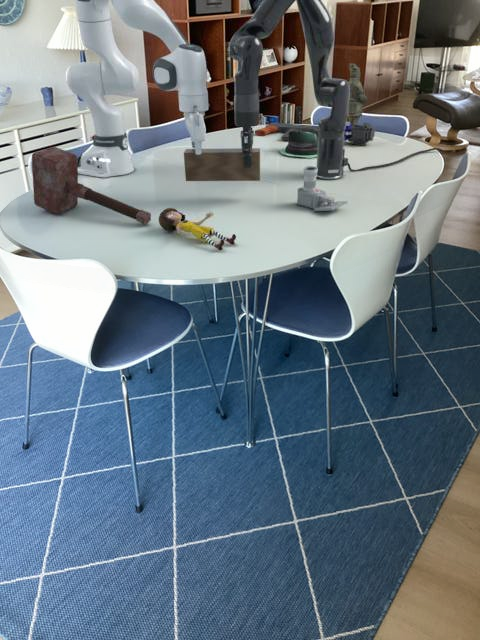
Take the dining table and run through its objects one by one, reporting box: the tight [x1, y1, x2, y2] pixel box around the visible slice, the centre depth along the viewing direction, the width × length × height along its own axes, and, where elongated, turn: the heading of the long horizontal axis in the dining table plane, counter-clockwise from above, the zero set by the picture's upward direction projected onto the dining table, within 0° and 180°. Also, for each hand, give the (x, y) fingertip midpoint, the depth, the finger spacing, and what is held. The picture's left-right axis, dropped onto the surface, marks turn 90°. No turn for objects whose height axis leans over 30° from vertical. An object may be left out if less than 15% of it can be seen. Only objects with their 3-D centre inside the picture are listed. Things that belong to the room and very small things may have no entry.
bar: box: [183, 147, 261, 182], centre depth 177 cm, size 24×5×9 cm, turn 86°
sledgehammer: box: [31, 146, 152, 226], centre depth 169 cm, size 17×10×40 cm
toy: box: [344, 122, 376, 146], centre depth 244 cm, size 9×9×15 cm
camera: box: [296, 165, 349, 212], centre depth 171 cm, size 9×12×15 cm
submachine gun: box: [254, 122, 319, 141], centre depth 263 cm, size 32×3×25 cm
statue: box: [346, 62, 368, 127], centre depth 262 cm, size 11×9×30 cm
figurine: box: [158, 207, 237, 251], centre depth 153 cm, size 13×8×25 cm
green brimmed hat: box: [279, 128, 318, 159], centre depth 234 cm, size 15×19×20 cm
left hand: (196, 150), depth 175 cm, fingers open, 8 cm apart
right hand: (247, 164), depth 176 cm, fingers closed on bar, 5 cm apart
